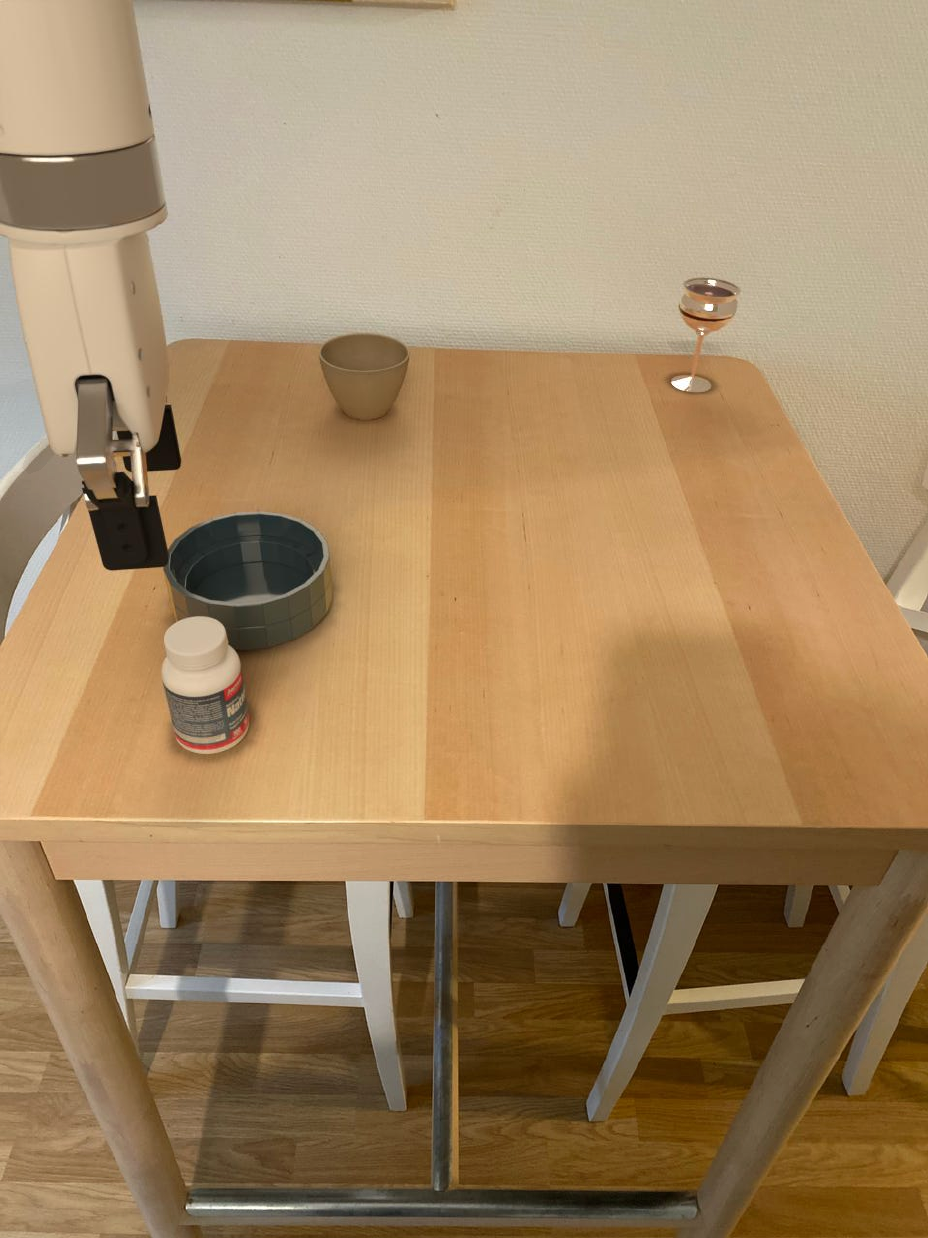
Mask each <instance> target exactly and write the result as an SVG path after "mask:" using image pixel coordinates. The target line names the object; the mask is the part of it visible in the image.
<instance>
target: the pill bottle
mask: <svg viewBox="0 0 928 1238" xmlns="http://www.w3.org/2000/svg"><path fill="white" fill-rule="evenodd" d="M163 645H164V650H165V655H166V657H165V658H164V659H163V661H162V664H161V673H160V674H161V682H162V686H163V689H164V693H165V698H166V701H167V706H168V711H169V716H170V720H171V726H172V730H173V734H174V737H175V740H176V741H177V743H178V744H179V745H180V746H181V747H182V748H183V749H185V750H187V751H188V752H191V753H195V754H199V755H212V754H218V753H222V752H225V751H228V750H230V749H231V748H233V747H235V746H237V745H238V744H239V743H241V741H242V740H243V739H244V737H245V736H246V734H247V733H248V731H249V727H250V715H249V714H250V713H249V709H248V702H247V695H246V689H245V683H244V678H243V677H244V676H243V670H242V664H241V659H240V656H239V655H238V653H237V651H236V649H233V648H232V647H231V646H229V645H228V639H227V634H226V630H225V628H224V626H223V625H222V624H221V623H220V622H219V621H217V620H215V619H213V618H210V617H204V616H196V617H189V618H185V619H182V620H180V621H178V622H177V621H175V622H174V623H172V625H171V626H169V627H168V628H167V630H166V631H165V633H164V634H163Z"/></svg>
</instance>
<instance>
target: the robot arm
mask: <svg viewBox="0 0 928 1238" xmlns="http://www.w3.org/2000/svg"><path fill="white" fill-rule="evenodd" d="M134 7H135V6H134V1H133V0H0V236H1V237H3V238H7V239H8V250H9V259H10V267H11V274H12V281H13V287H14V294H15V298H16V299H15V300H16V304H17V309H18V315H19V321H20V324H21V329H22V334H23V339H24V344H25V349H26V353H27V357H28V361H29V366H30V369H31V374H32V378H33V382H34V387H35V391H36V395H37V401H38V405H39V408H40V413H41V417H42V421H43V425H44V430H45V433H46V437H47V440H48V444H49V448H50V449H51V450H52V452H53V453H54V454H55V455H57V456H58V457H60V458H67V457H69V455H76V457H75V458H76V466H77V469H78V472H79V474H80V476H81V478H82V479H83V480H82V481H81V485H82V486H83V487H81V490H82V493H83V495H84V501H85V502H84V503H85V506H86V509H87V512H88V514H89V515H88V516H89V519H90V522H91V526H92V529H93V533H94V537H95V541H96V544H97V545H96V546H97V548H98V552H99V556H100V560H101V563H102V566H103V567H104V569H106V570H107V571H113V572H114V571H126V570H127V571H128V570H140V569H141V570H143V569H155V568H163V567H164V566H166V565H167V564H168V559H169V553H168V549H169V548H168V544H167V539H166V536H165V535H166V534H165V530H164V526H163V521H162V516H161V512H160V511H161V510H160V505H159V502H158V497H157V494H154V495H153V494H152V495H150V487H149V475H148V473H149V472H167V471H169V472H170V471H178V470H180V469H181V466H182V455H181V450H180V445H179V440H178V434H177V429H176V423H175V419H174V413H173V408H172V404H166V403H168V390H169V384H170V383H169V382H170V364H169V354H168V353H169V352H168V346H167V337H166V330H165V325H164V324H165V323H164V319H163V317H164V316H163V312H162V306H161V300H160V295H159V289H158V283H157V279H156V273H155V267H154V263H153V258H152V252H151V248H150V243H149V236H148V233H147V232H148V231H151V230H153V229H156V227H157V226H159V225H162V224H163V223H164V222H165V221H166V220H167V219H168V214H169V213H168V206H167V200H166V196H165V189H164V184H163V175H162V172H161V171H162V170H161V165H160V158H159V152H158V146H157V141H156V135H155V127H154V122H153V116H152V111H151V103H150V97H149V91H148V85H147V79H146V74H145V68H144V63H143V56H142V52H141V51H142V50H141V44H140V38H139V32H138V25H137V20H136V14H135V8H134ZM114 432H116V435H117V436H116V437H117V439H113V436H114ZM117 457H118V458H119V457H122V461H123V465H124V469H125V470H126V471H127V472H129V473H131V478H130V477H129V476H128V475H127V473H126V472H125V471H117V463H116V461H115V460H116V459H115V458H117Z"/></svg>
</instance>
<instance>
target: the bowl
mask: <svg viewBox="0 0 928 1238" xmlns="http://www.w3.org/2000/svg"><path fill="white" fill-rule="evenodd" d="M167 549H168V553H169V559H168V564H167V565H166V566H164V567H162V568H163V569H162V571H163V576H164V580H165V585H166V588H167V589H166V590H167V594H168V595H167V596H168V599H169V604H170V608H171V613H172V615H173V617H174V619H175V622H178V621H180V620H182V619H185V618H189V617H196V616H204V617H210V618H213V619H215V620H217V621H219V622H220V623H221V624H222V625H223V626H224V628H225V630H226V634H227V639H228V645H229V646H231V647H232V648H233V649H234V650H238V651H245V650H246V651H247V650H256V649H257V650H258V649H268V648H271V647H273V646H274V647H275V646H276V645H281V644H284V643H287V642H290V641H293V640H295V639H297V638H298V637H300V636H302V635H304V634H305V633H307V632H309V631H311V630H312V629H314V628H315V626H317V625H318V624H319V623H320V621H321V620H323V619H324V617H325V616H326V615H327V613H328V611H329V608H330V605H331V603H332V601H333V589H332V574H331V572H332V571H331V561H330V560H331V557H330V551H329V542H328V540H326V538H325V537H324V536H323V534H322V533H321V532H320V530H319V529H318V528H316V527H315V526H313V525H311V524H310V523H309V522H307V521H305V520H304V519H301V518H298V517H295V516H292V515H288V514H286V513H281V512H271V511H261V510H254V511H238V512H232V513H228V514H227V513H226V514H224V515H219V516H214V517H211V518H209V519H208V518H207V520H204V521H202V522H200V523H198V524H195V525H193V526H191V527H188V529H187V530H185V531H184V532H182V533H181V534H180V535H179V536H177V537H176V538H175V539H174V540H173V541H172V543H171V544H170V546H169V548H167Z"/></svg>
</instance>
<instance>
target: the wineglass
mask: <svg viewBox="0 0 928 1238" xmlns="http://www.w3.org/2000/svg"><path fill="white" fill-rule="evenodd" d="M682 285H683V288H684V291H683V292H682V294H681V296H680V298H679V301H678V311H679V315H680V318H681V319H682V320H683V321H684V323H685V324H686V326H688V327H689V328H690V329H692V330H694V332H695V334H696V335H697V338H696V345H695V351H694V357H693V363H692V369H691V374H680V375H676V376H674V377H673V378H671V380H670V382H671V384H672V386H673V387H675V388H676V389H678V390H681V391H684V392H689V393H704V392H708V391H709V390H710V389H711V388H712V384H711V383H710V381H709V380H707V379H705V378H703V377H700V376H697V375H695V374H696V371H697V368H698V363H699V359H700V356H701V353H702V348H703V344H704V340H705V337H706V336H708V335H709V334H710V333H713V332H717V331H718V332H719V331H720V330H721V329H722V328H724V327H725V326H727V325H728V324H730V323H731V322H732V321H733V319H734V317H735V315H736V313H737V310H738V299H737V298H738V297H739V295H740V294H741V292H742V291H741V288H740V287H739V286H738V285H737V284H735V283H733V282H731V281H728V280H725V279H720V278H715V277H703V276H702V277H692V278H688V279H686V280H684V281H683V284H682Z"/></svg>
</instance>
